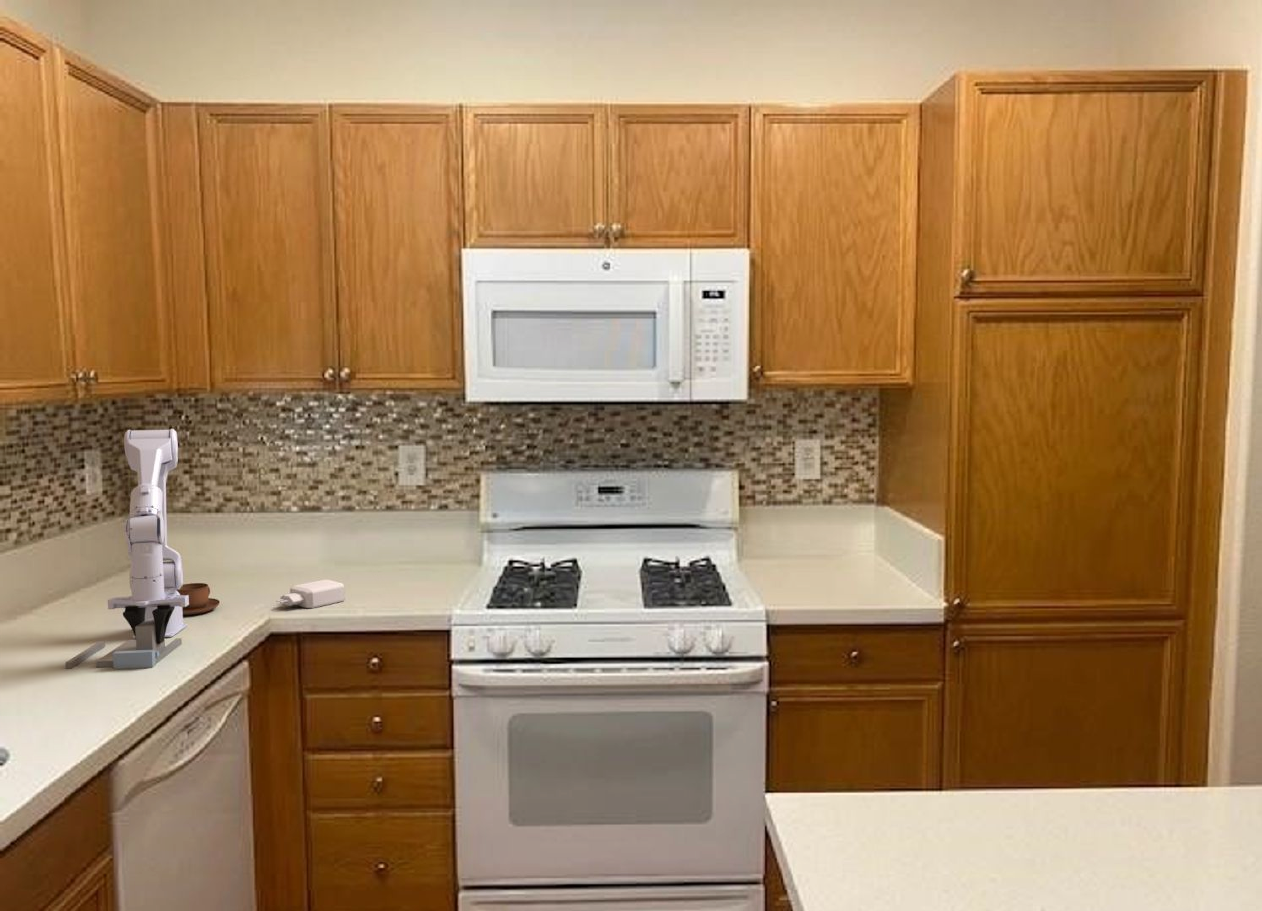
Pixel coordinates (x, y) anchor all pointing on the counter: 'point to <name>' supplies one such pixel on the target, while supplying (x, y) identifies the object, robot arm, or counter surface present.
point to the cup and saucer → (197, 598)
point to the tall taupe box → (147, 636)
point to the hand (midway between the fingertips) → (150, 642)
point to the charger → (314, 594)
